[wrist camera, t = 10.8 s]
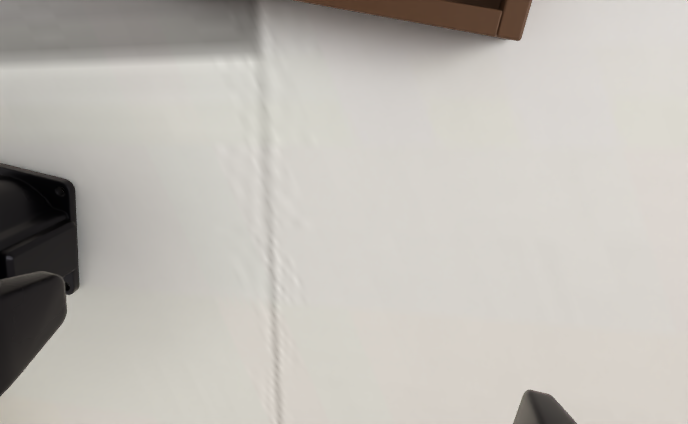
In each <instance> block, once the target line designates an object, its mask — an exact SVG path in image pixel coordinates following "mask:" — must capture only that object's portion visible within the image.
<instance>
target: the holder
mask: <svg viewBox="0 0 688 424" xmlns="http://www.w3.org/2000/svg"><path fill="white" fill-rule="evenodd" d="M294 1H299V2H305V3H310V4H316V5H321V6H327V7H332V8H338V9H343V10H349V11H354V12H360V13H365V14H371V15H376V16H382V17H387V18H393V19H398V20H404V21H410V22H415V23H421V24H426V25H432V26H437V27H443V28H448V29H454V30H459V31H465V32H470V33H476V34H481V35H487V36H492V37H498V38H503V39H509V40H516V41H519V40H520V39H521V37H522V34H523V30H524V27H525V23H526V20H527V17H528V13H529V10H530V6H531V3H532V0H294Z"/></svg>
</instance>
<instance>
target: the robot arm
mask: <svg viewBox="0 0 688 424" xmlns="http://www.w3.org/2000/svg"><path fill="white" fill-rule="evenodd" d="M62 188H63V189H64V191H65V192H63V190H62ZM67 283H68V284H67ZM78 288H79V268H78V245H77V223H76V200H75V188H74V186H73V184H72V183H71V182H70V181H68V180H66V179H62V178H58V177H54V176H50V175H46V174H42V173H38V172H34V171H30V170H26V169H22V168H18V167H14V166H10V165H6V164H2V163H0V396H1V395H2V394H3V393H4V392H5V391H6V390H7V389H8V388H9V387H10V386H11V385H12V383H13V382H14V381H15V380H16V379H17V378H18V376H19V375H20V374H21V373H22V372H23V370H24V369H25V368H26V367H27V366H28V364H29V363H30V362H31V361H32V360H33V358H34V357H35V356H36V355H37V353H38V352H39V351H40V350H41V349H42V347H43V346H44V345H45V344H46V343H47V341H48V340H49V339H50V338H51V336H52V335H53V334H54V333H55V332H56V330H57V329H58V328H59V327H60V326H61V324H62V323H63V321H64V319H65V317H66V314H67V304H66V295H70V294H72V293H74V292H75V291H77V290H78ZM513 424H577V423H576V422H575V421H574V420H573V419H572V417H571V416H570V415H569V414H568V413H567V412H566V411H565V410H564V409H563V407H562V406H561V405H560V404H559V403H558V402H557V401H556V400H555V398H553V397H552V396H551V395H549V394H546V393H542V392H538V391H533V390H527V391H526V392H525V393H524V395H523V397H522V400H521V403H520V405H519V408H518V411H517V414H516V417H515V420H514V423H513Z"/></svg>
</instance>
